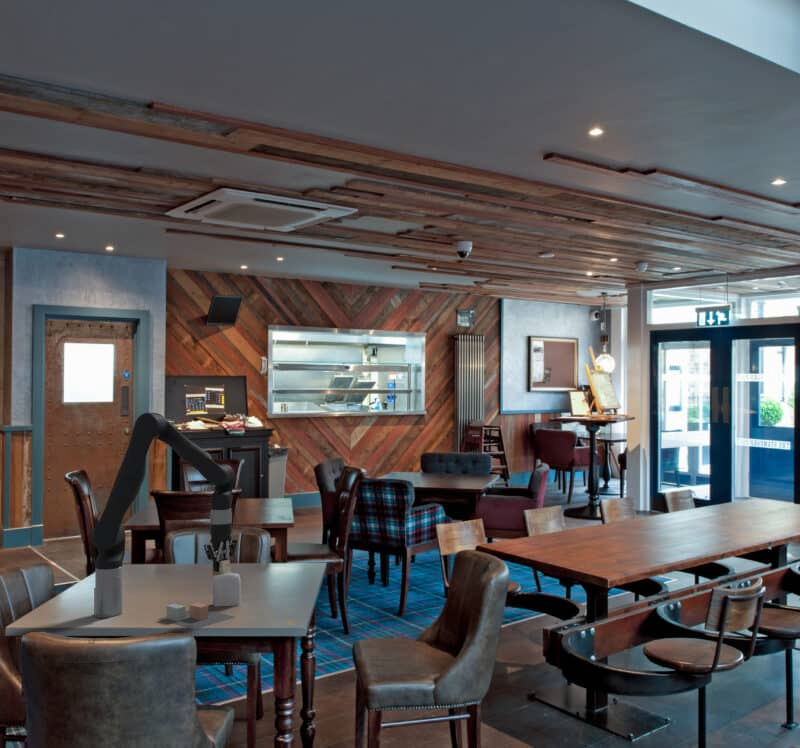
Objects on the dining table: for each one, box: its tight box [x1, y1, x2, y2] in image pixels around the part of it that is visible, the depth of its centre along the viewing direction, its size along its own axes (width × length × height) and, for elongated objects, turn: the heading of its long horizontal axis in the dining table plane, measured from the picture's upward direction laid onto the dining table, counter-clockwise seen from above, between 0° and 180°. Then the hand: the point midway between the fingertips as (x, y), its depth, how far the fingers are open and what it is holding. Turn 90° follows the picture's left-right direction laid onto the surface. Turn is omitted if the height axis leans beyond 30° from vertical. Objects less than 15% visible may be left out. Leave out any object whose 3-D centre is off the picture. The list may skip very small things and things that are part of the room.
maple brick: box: [210, 559, 232, 577], centre depth 280 cm, size 6×3×4 cm, turn 53°
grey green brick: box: [166, 603, 186, 622], centre depth 277 cm, size 6×3×4 cm, turn 53°
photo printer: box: [212, 572, 242, 607], centre depth 296 cm, size 10×4×12 cm, turn 95°
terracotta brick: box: [188, 602, 209, 621], centre depth 279 cm, size 6×3×4 cm, turn 53°
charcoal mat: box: [157, 609, 235, 631], centre depth 278 cm, size 20×18×1 cm
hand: (220, 570), depth 280 cm, fingers closed on maple brick, 3 cm apart
